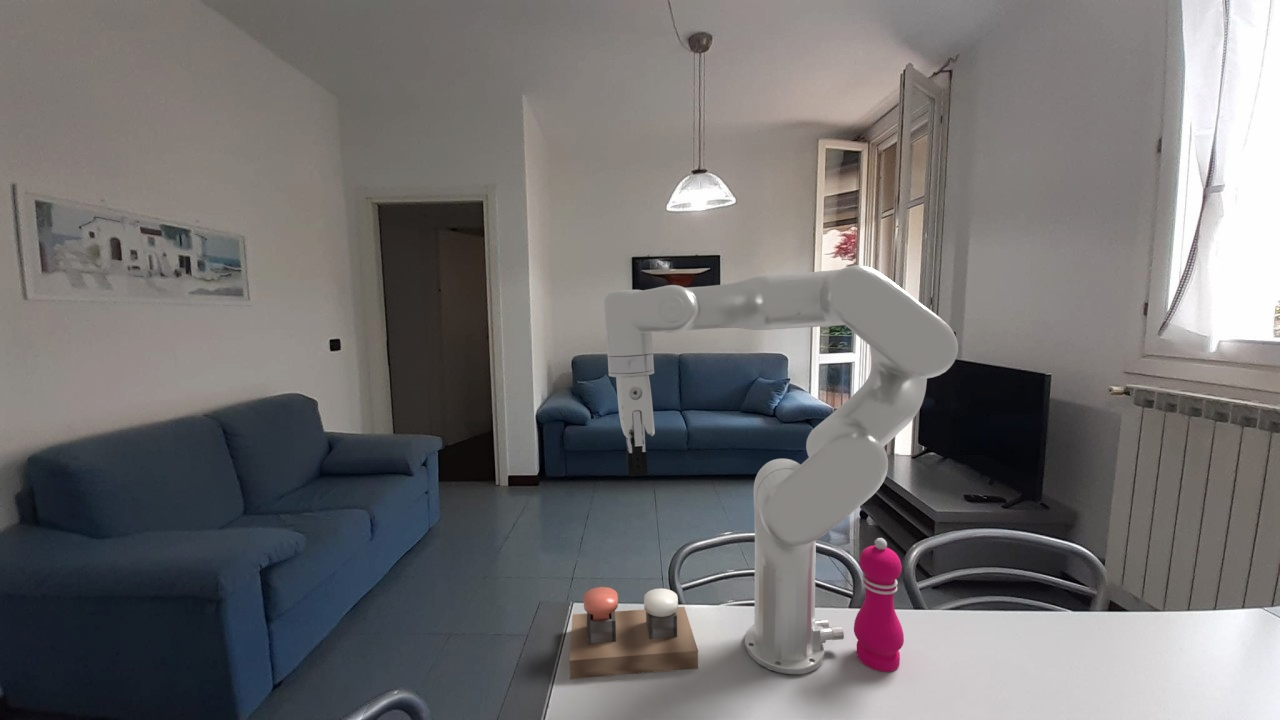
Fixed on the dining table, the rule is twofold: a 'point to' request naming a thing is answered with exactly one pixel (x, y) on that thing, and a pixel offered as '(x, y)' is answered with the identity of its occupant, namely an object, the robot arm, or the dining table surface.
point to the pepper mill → (879, 609)
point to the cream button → (661, 602)
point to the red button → (600, 602)
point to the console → (631, 644)
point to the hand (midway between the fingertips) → (637, 474)
